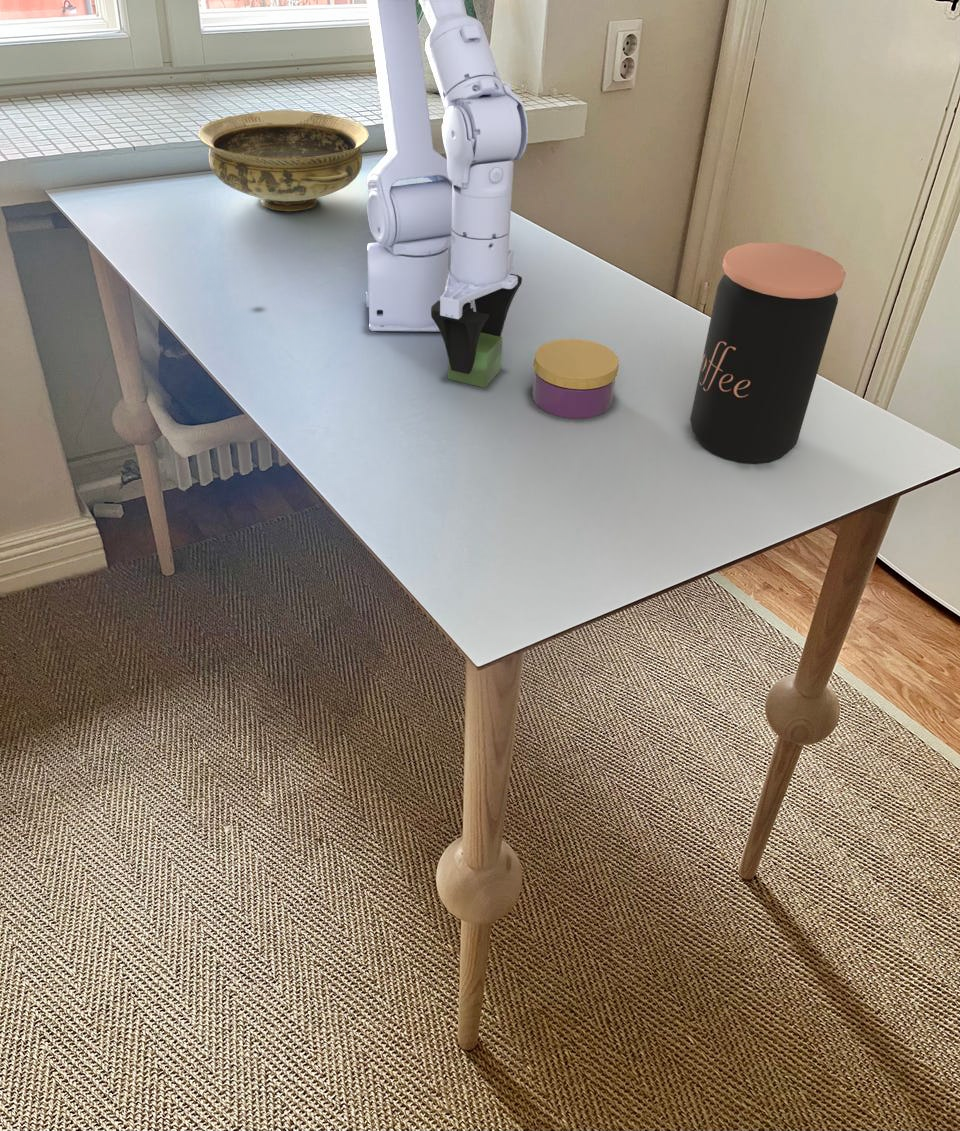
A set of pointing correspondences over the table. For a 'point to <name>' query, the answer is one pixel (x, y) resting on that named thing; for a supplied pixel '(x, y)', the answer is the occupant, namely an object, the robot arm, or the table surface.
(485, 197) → the robot arm
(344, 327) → the table surface
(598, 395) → the jar
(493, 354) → the block
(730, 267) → the coffee jar
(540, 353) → the lid
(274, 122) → the ceramic bowl
